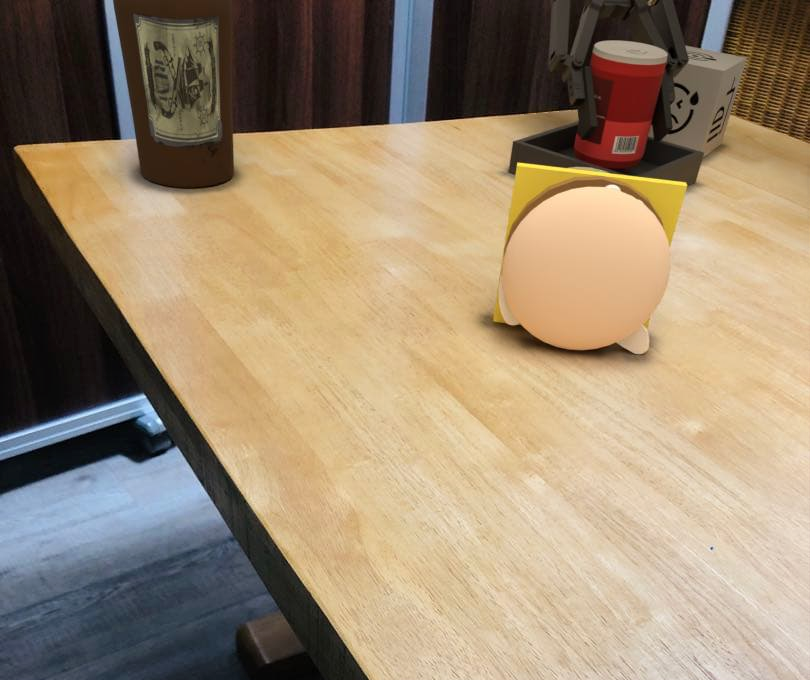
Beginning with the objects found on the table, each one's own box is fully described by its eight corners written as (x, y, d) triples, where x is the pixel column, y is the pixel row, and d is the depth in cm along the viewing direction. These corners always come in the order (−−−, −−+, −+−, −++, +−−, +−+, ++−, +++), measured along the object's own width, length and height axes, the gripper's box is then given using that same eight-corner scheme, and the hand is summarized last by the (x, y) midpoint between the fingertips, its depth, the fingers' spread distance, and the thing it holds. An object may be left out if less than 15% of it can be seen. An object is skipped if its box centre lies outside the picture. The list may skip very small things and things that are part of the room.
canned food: (651, 159, 98) (679, 50, 91) (623, 175, 93) (650, 61, 86) (590, 142, 101) (612, 36, 94) (560, 157, 96) (581, 46, 89)
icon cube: (721, 143, 112) (747, 57, 106) (698, 161, 106) (724, 71, 99) (648, 126, 116) (669, 42, 109) (621, 142, 109) (642, 54, 103)
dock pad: (695, 182, 100) (704, 152, 97) (629, 213, 90) (636, 180, 88) (581, 146, 107) (586, 118, 104) (508, 172, 97) (512, 141, 95)
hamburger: (489, 353, 65) (514, 191, 57) (494, 305, 71) (518, 152, 63) (649, 374, 64) (697, 212, 56) (640, 323, 71) (682, 172, 63)
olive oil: (133, 156, 92) (95, -143, 75) (233, 155, 94) (218, -134, 78) (136, 192, 84) (95, -132, 68) (246, 190, 87) (232, -122, 70)
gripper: (673, -40, 99) (695, 153, 98) (502, -51, 95) (523, 150, 94) (709, -91, 92) (733, 116, 91) (525, -105, 88) (548, 112, 86)
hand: (626, 133), depth 92 cm, fingers closed on canned food, 8 cm apart
